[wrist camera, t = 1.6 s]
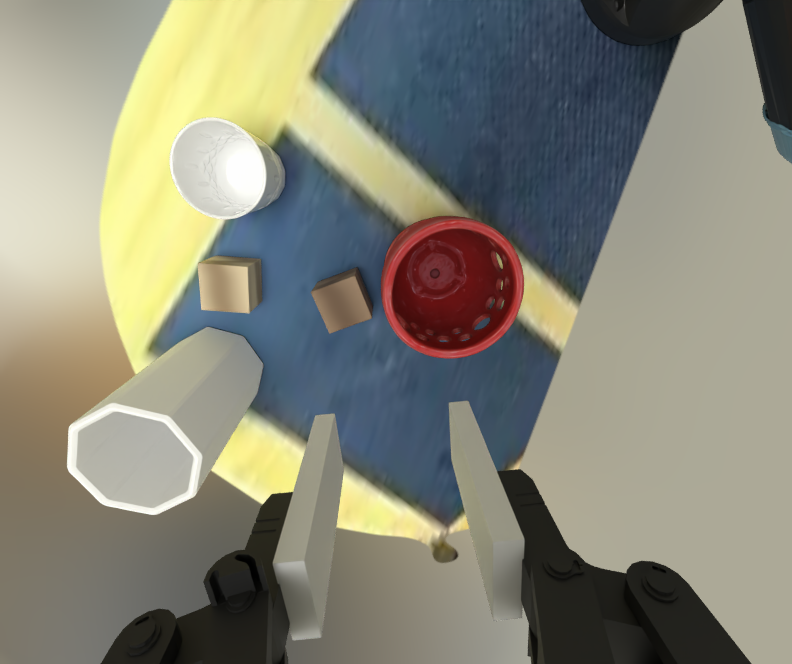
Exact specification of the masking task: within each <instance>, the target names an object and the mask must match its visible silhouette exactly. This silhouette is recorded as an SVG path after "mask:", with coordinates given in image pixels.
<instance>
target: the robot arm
mask: <svg viewBox="0 0 792 664" xmlns="http://www.w3.org/2000/svg"><path fill="white" fill-rule="evenodd" d="M722 1H723V0H582V2H583V5H584V7H585V9H586V11H587V13H588V14H589V16H590V18H591V19H592V21H593V22H594V23H595V24H596V25H597V27H598V28H599V29H600V30H602V31H603V32H604V33H605V34H607V35H608V36H609V37H611V38H613V39H615V40H617V41H619V42H622V43H626V44H630V45H650V44H655V43H659V42H662V41H665V40H668V39H670V38H672V37H674V36H676V35H678V34H680V33H682V32H684V31H685V30H687V29H689V28H691V27H693V26H694V25H695V24H697V23H699V22H700V21H701V20H703V19H704V18H705V17H706V16H708V15H709V14H710V13H711V12H712V11H713V10H714V9H715V8H716V7H717V6H718V5H719V4H720V3H721V2H722ZM742 1H743V7H744V11H745V16H746V20H747V25H748V29H749V34H750V38H751V43H752V47H753V51H754V56H755V61H756V65H757V69H758V74H759V78H760V83H761V87H762V92H763V96H764V101H765V103H764V105H763V117H764V119H765V121H767V123H768V125H769V126H770V127H771V130H772V134H773V137H774V141H775V144H776V147H777V150H778V152H779V153H780V154H781V155H782V156H783V157H784V158H785V159H786V160H787V161H789V162H790V163H792V0H742ZM449 416H450V437H451V458H452V463H453V467H454V471H455V475H456V479H457V483H458V486H459V490H460V494H461V498H462V502H463V506H464V510H465V513H466V517H467V521H468V525H469V529H470V533H471V537H472V540H473V544H474V548H475V552H476V556H477V560H478V564H479V567H480V571H481V575H482V579H483V583H484V587H485V590H486V594H487V598H488V602H489V606H490V610H491V614H492V617H493V621H497V620H508V619H518V618H522V605H523V608H524V610H525V613H526V616H527V619H528V622H529V634H528V635H529V637H528V656H530V657H531V664H751V663H750V661H749V660H748V659H747V658H746V656H745V655H744V654H743V652H742V651H741V650H740V649H739V647H738V646H737V645H736V644H735V642H734V641H733V640H732V639H731V637H730V636H729V635H728V633H727V632H726V631H725V630H724V628H723V627H722V626H721V625H720V623H719V622H718V621H717V620H716V618H715V617H714V616H713V614H712V613H711V612H710V611H709V609H708V608H707V607H706V606H705V604H704V603H703V602H702V600H701V599H700V598H699V597H698V595H697V594H696V593H695V592H694V590H693V589H692V588H691V587H690V585H689V584H688V583H687V582H686V581H685V580H684V579H683V578H682V577H681V576H680V575H679V574H678V573H676V572H675V571H673V570H671V569H670V568H668V567H666V566H664V565H661V564H658V563H655V562H650V561H639V562H636V563H633V564H632V565H631V566H630V567H629V568H628V569H627V573H621V572H616V571H610V570H605V569H601V568H598V567H594V566H592V565H590V564H588V563H586V562H585V561H584V560H583V559H582V558H581V557H580V556H579V555H578V554H577V553H576V552H574V551H572V550H570V549H569V548H568V546H567V545H566V543H565V541H564V539H563V537H562V535H561V533H560V531H559V529H558V528H557V526H556V524H555V522H554V520H553V518H552V516H551V514H550V512H549V510H548V509H547V506H546V505H545V503H544V501H543V499H542V497H541V495H540V494H539V491H538V489H537V487H536V485H535V483H534V481H533V480H532V479H531V478H530V477H529V476H528V475H527V474H526V473H524V472H523V471H522V470H520V469H518V470H508V471H496V468H495V466H494V463H493V461H492V459H491V456H490V454H489V451H488V449H487V446H486V444H485V441H484V439H483V436H482V434H481V432H480V429H479V427H478V424H477V422H476V419H475V417H474V414H473V412H472V410H471V407H470V405H469V402H468V401H462V402H451V403H449ZM343 472H344V468H343V462H342V456H341V450H340V444H339V438H338V431H337V425H336V419H335V414H325V415H315V419H314V422H313V426H312V429H311V432H310V436H309V439H308V443H307V446H306V450H305V453H304V457H303V460H302V463H301V467H300V470H299V474H298V477H297V481H296V484H295V488H294V491H293V492H289V493H278V494H272V495H271V496H270V497H269V498H268V499H267V500H266V502H265V503H264V504H263V505H262V506H261V508H260V511H259V514H258V517H257V519H256V523H255V524H254V527H253V529H252V534H251V535H250V537H249V540H248V543H247V546H246V548H245V550H238V551H234V552H232V553H230V554H227V555H225V556H224V557H222V558H221V559H220V560H218V561H217V562H216V563H215V564H214V565H213V566H212V567H211V568H210V570H209V571H208V572H207V574H206V577H205V579H204V585H205V588H206V591H207V594H208V597H209V600H210V602H211V604H210V605H208V606H206V607H204V608H202V609H199V610H197V611H195V612H192V613H189V614H187V615H184V616H182V617H179V618H177V619H176V618H175V615H174V614H173V613H171V612H170V611H169V610H165V609H157V610H153V611H149V612H147V613H145V614H143V615H141V616H139V617H137V618H136V619H134V620H133V621H132V622H131V623H130V624H129V625H127V626H126V627H125V628H124V629H123V630H122V632H121V633H120V634H119V636H118V637H117V638H116V639H115V641H114V643H113V645H112V646H111V648H110V649H109V651H108V653H107V654H106V656H105V658H104V659H103V661H102V663H101V664H288V657H287V652H286V648H285V645H286V640H287V635H288V631H289V628H290V632H291V635H292V639H293V640H301V639H312V638H321V637H322V630H323V622H324V615H325V608H326V600H327V592H328V585H329V577H330V570H331V563H332V555H333V548H334V540H335V533H336V525H337V518H338V510H339V502H340V495H341V487H342V480H343Z"/></svg>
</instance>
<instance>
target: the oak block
mask: <svg viewBox="0 0 792 664" xmlns="http://www.w3.org/2000/svg"><path fill="white" fill-rule="evenodd" d="M198 272H199V285H200V297H201V309H202V310H211V311H225V312H239V313H250V312H251V311H252V310H253V309H254V308H255V307H256V306H257V305H258V304H260V303H261V302H262V276H261V259H255V258H242V257H230V256H217V255H216V256H214V257H211V258H209V259H207V260H204V261H202V262H199V263H198Z"/></svg>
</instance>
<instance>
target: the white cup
mask: <svg viewBox="0 0 792 664" xmlns="http://www.w3.org/2000/svg"><path fill="white" fill-rule="evenodd" d="M170 170H171V175H172V178H173V181H174V183H175V186H176V188H177V189H178V191H179V193H180V194H181V196H182V197H183V198H184V199H185V200H186V202H187V203H188V204H190V205H191V206H192V207H193V208H194V209H196V210H197V211H199V212H201V213H202V214H204V215H207V216H209V217H213V218H217V219H234V218H238V217H241V216H243V215H246V214H249V213H252V212H255V211H258V210H260V209H262V208H264V207H266V206H268V205H269V204H271V203H272V202H274V201H275V200H277V199H278V198H279V196H280V194H281V192H282V190H283V189H284V187H285V169H284V167H283V164H282V161H281V159H280V157H279V155H278V154H277V153H276V152H275V151H274V150H273V149H272V148H271V147H270V146H269V145H267V144H266V143H265V142H263V141H262V140H261V139H259V138H258V137H256V136H255V135H253V134H251V133H250V132H248V131H246V130H245V129H243V128H241V127H240V126H238V125H236V124H234V123H232V122H230V121H228V120H225V119H221V118H213V117H209V118H201V119H198V120H195V121H193V122H191V123H189V124H188V125H186V126H185V127H184V128H183V129H182V130H181V131H180V132H179V133H178V135H177V136H176V138H175V140H174V142H173V144H172V147H171V152H170Z"/></svg>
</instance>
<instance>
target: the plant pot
mask: <svg viewBox="0 0 792 664" xmlns="http://www.w3.org/2000/svg"><path fill="white" fill-rule="evenodd" d="M496 253H497V254H498V255H499V256H500V258H501V260H502V264H503V269H501V268H500V266H499V264H498V260H497V257H496ZM502 281H503V286H502V290H501V282H502ZM523 292H524V276H523V270H522V266H521V263H520V260H519V257H518V255H517V253H516V251H515V249H514V248H513V246H512V245H511V243H510V242H509V241H508V240H507V239H506V238H505V237H504V236H503V235H502V234H501V233H499V232H498V231H497V230H495V229H494V228H492V227H490V226H488V225H486V224H484V223H482V222H479V221H477V220H473V219H470V218H466V217H456V216H438V217H433V218H429V219H425V220H422V221H419V222H416V223H414V224H412V225H410V226H409V227H407V228H406V229H404V230H403V231H402V232H401V233H400V234H399V235H398V236H397V237H396V238H395V239H394V241H393V242H392V244H391V245H390V247H389V249H388V251H387V254H386V257H385V262H384V267H383V271H382V277H381V297H382V303H383V307H384V311H385V314H386V317H387V320H388V322H389V324H390V326H391V327H392V329H393V330H394V332H395V333H396V334H397V336H398V337H399V338H400V339H401V340H402V341H403V342H404V343H406V344H407V345H408V346H410V347H411V348H413V349H414V350H416V351H418V352H420V353H423V354H426V355H429V356H433V357H438V358H460V357H466V356H469V355H473V354H476V353H478V352H480V351H482V350H484V349H486V348H488V347H489V346H491V345H492V344H494V343H495V342H496V341H497V340H499V339H500V338H501V337H502V336H503V335H504V334H505V333H506V331H507V330H508V329H509V328H510V326H511V325H512V323H513V322H514V320H515V318H516V316H517V314H518V311H519V308H520V305H521V302H522V298H523ZM493 299H495V303H494V305H493V307H492V308H491V309H490V304H491V302H492V300H493ZM503 301H504V305H503V307H502V309H500V307H501V304H502V302H503ZM488 317H490V322H489V323H488V324H487V326H485V327H484V328H482V329H479V330H474V329H475V326H476V325H477V324H478V323H479V322H480V321H482V320H483V319H485V318H488ZM458 332H461V333H459V334H455V333H458ZM429 334H432V335H429ZM468 338H470V339H468ZM464 339H468V340H466V341H462V340H464ZM440 340H446V341H448V342H440Z"/></svg>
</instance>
